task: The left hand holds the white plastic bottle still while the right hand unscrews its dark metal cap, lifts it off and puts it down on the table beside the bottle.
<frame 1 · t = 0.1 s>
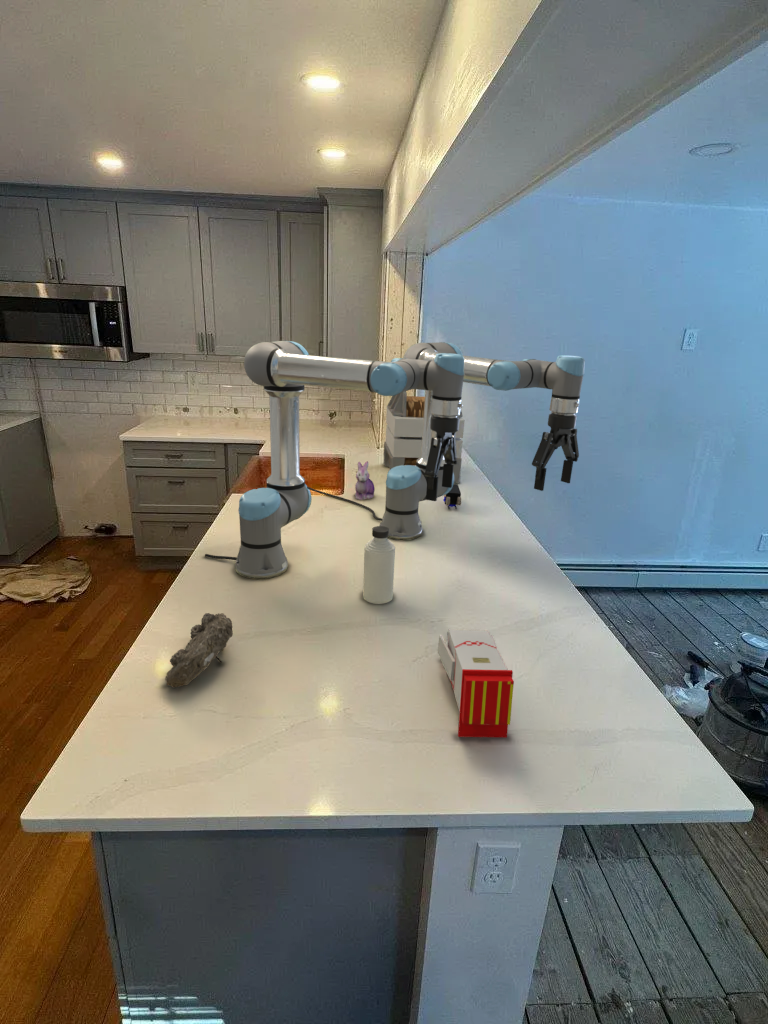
left hand: (439, 493, 154), 28 cm above the counter, tool pointing down, fingers open, 13 cm apart
right hand: (552, 485, 166), 28 cm above the counter, tool pointing down, fingers open, 13 cm apart
figurine: (364, 497, 237), on the counter
bottle: (377, 596, 156), on the counter
fossil: (205, 661, 125), on the counter
cap: (380, 530, 149), point 20 cm above the counter, screwed on, not yet turned
figurine character: (451, 505, 231), on the counter
toy: (469, 691, 119), on the counter
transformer: (419, 473, 275), on the counter
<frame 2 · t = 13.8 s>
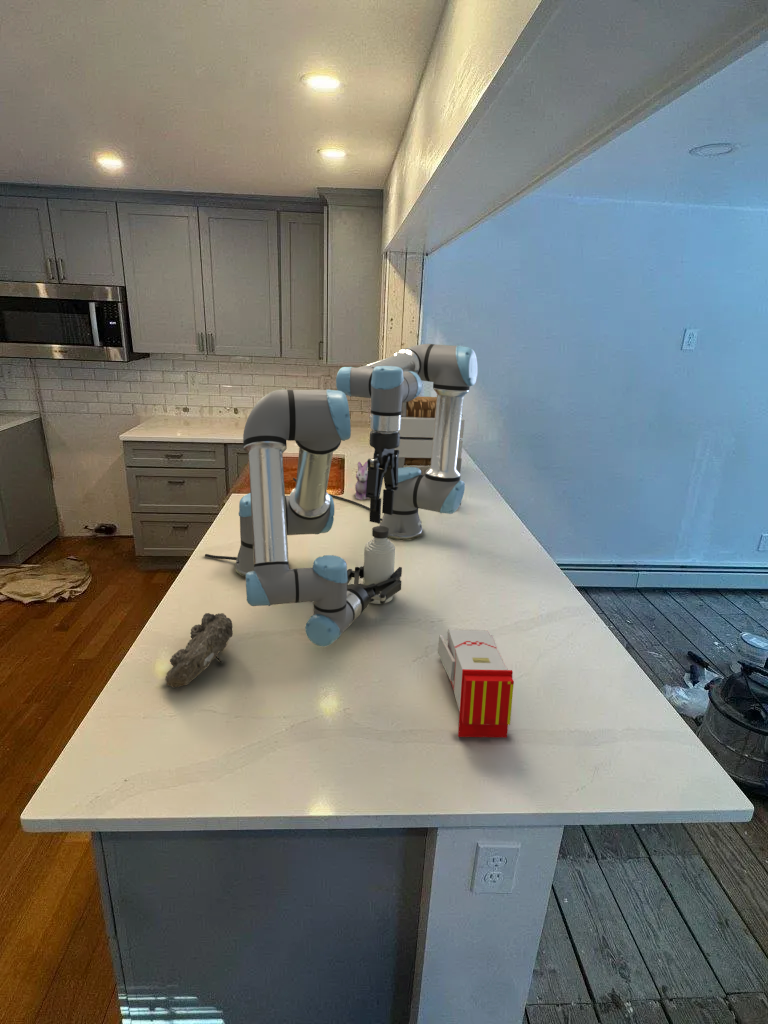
left hand: (385, 568, 158), 7 cm above the counter, tool horizontal, fingers closed on bottle, 8 cm apart
right hand: (381, 517, 148), 23 cm above the counter, tool pointing down, fingers open, 7 cm apart
bottle: (377, 596, 156), on the counter, touching left hand
everything else where it was.
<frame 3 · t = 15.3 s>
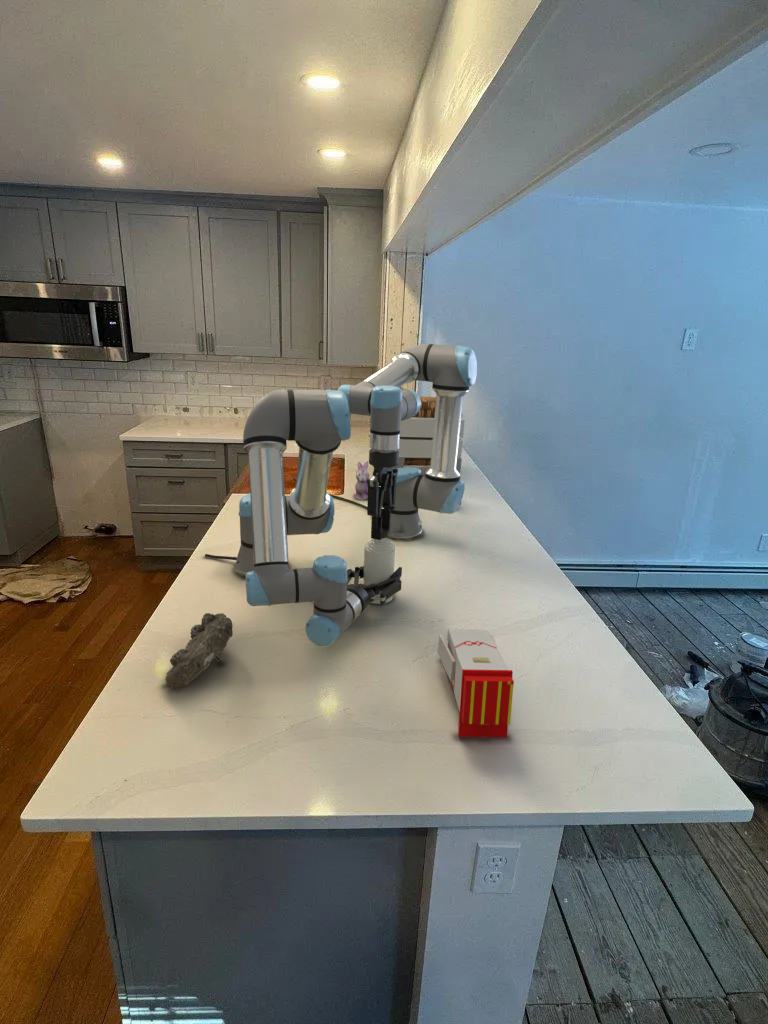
left hand: (385, 568, 158), 7 cm above the counter, tool horizontal, fingers closed on bottle, 8 cm apart
right hand: (380, 535, 150), 18 cm above the counter, tool pointing down, fingers closed on cap, 4 cm apart
bottle: (377, 596, 156), on the counter, touching left hand
cap: (380, 530, 149), point 20 cm above the counter, screwed on, not yet turned, touching right hand
everything else where it was.
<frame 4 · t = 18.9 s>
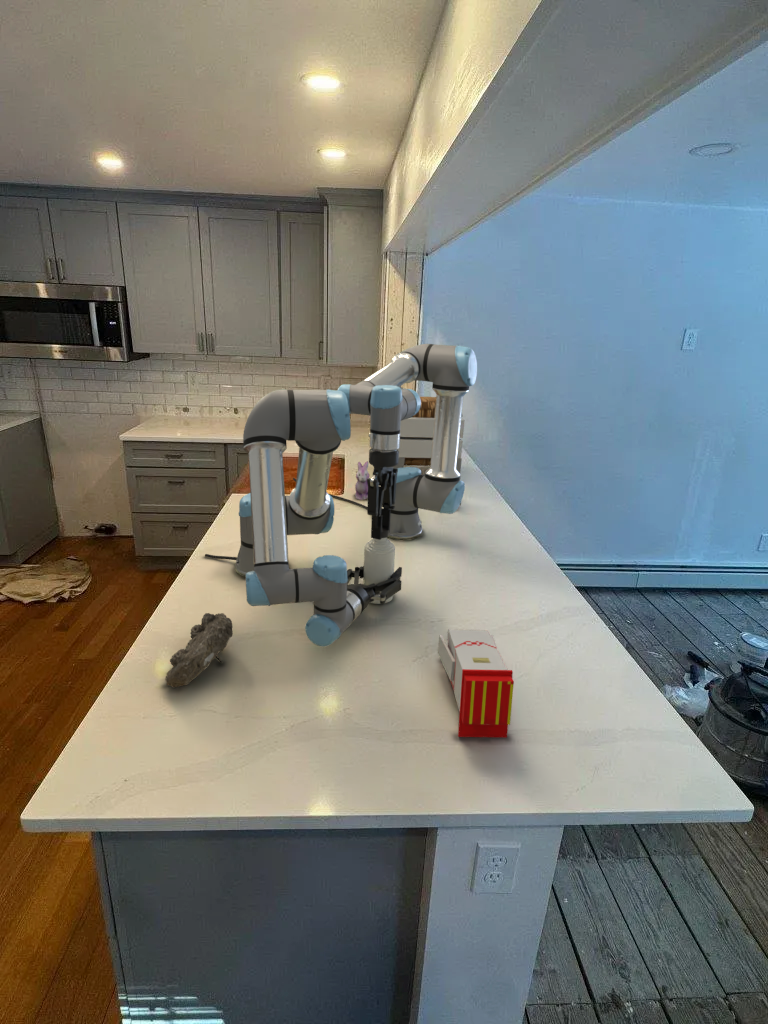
left hand: (385, 568, 158), 7 cm above the counter, tool horizontal, fingers closed on bottle, 8 cm apart
right hand: (380, 535, 150), 18 cm above the counter, tool pointing down, fingers closed on cap, 4 cm apart
bottle: (377, 596, 156), on the counter, touching left hand
cap: (380, 529, 149), point 20 cm above the counter, turned 124° so far, risen 0.1 cm, still on its thread, touching right hand
everything else where it was.
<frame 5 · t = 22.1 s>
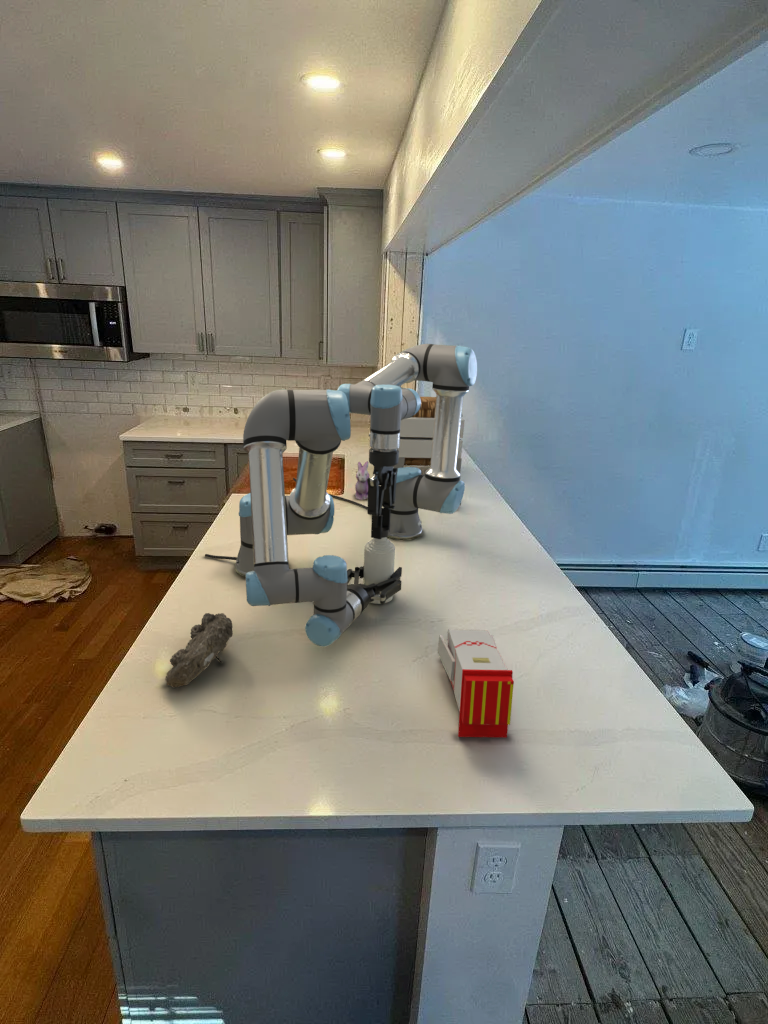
left hand: (385, 568, 158), 7 cm above the counter, tool horizontal, fingers closed on bottle, 8 cm apart
right hand: (380, 534, 150), 18 cm above the counter, tool pointing down, fingers closed on cap, 4 cm apart
bottle: (377, 596, 156), on the counter, touching left hand
cap: (380, 529, 149), point 20 cm above the counter, turned 248° so far, risen 0.2 cm, still on its thread, touching right hand
everything else where it was.
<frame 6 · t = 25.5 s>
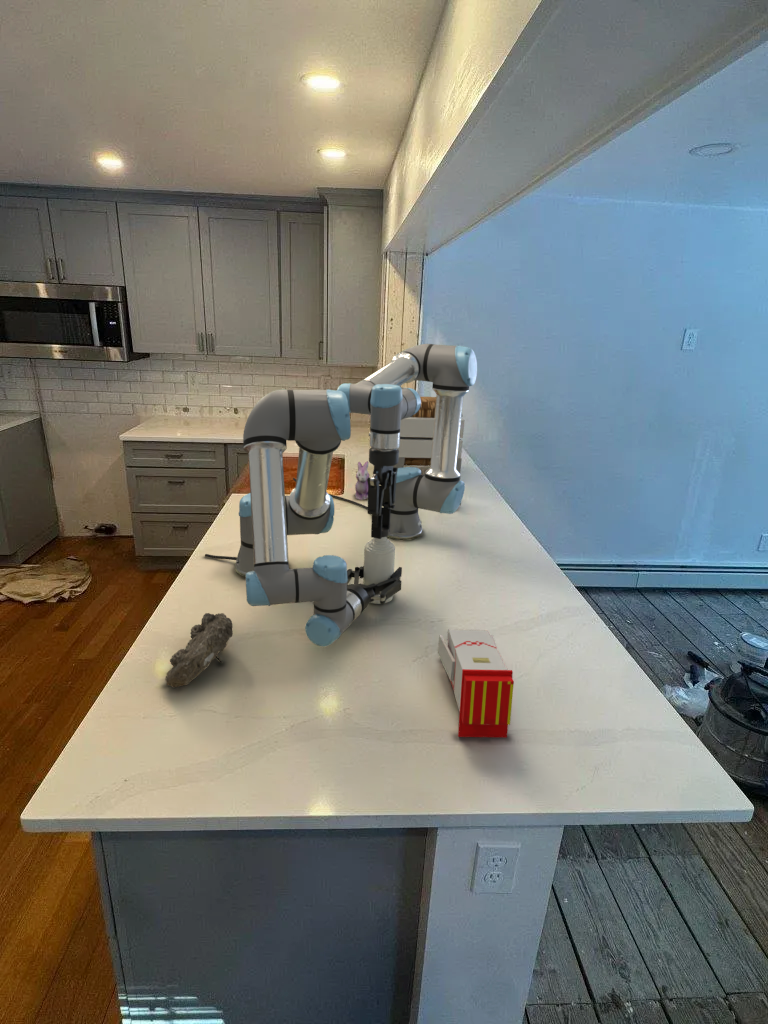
left hand: (385, 568, 158), 7 cm above the counter, tool horizontal, fingers closed on bottle, 8 cm apart
right hand: (380, 534, 150), 19 cm above the counter, tool pointing down, fingers closed on cap, 4 cm apart
bottle: (377, 596, 156), on the counter, touching left hand
cap: (380, 528, 149), point 20 cm above the counter, turned 373° so far, risen 0.3 cm, still on its thread, touching right hand
everything else where it was.
when the right hand's fingers open (1 cm above the counter, at t = 32.6 s): cap drops 1 cm, point 1 cm above the counter.
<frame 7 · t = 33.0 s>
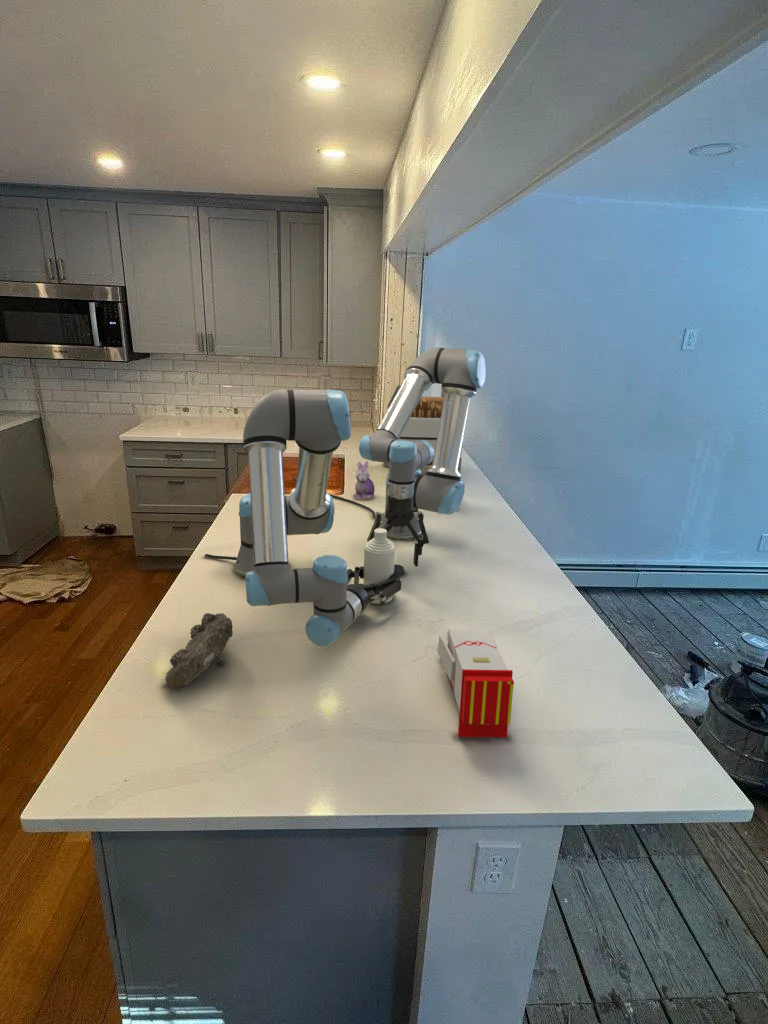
left hand: (385, 568, 158), 7 cm above the counter, tool horizontal, fingers closed on bottle, 8 cm apart
right hand: (396, 565, 169), 3 cm above the counter, tool pointing down, fingers open, 11 cm apart
bottle: (377, 596, 156), on the counter, touching left hand
cap: (396, 568, 170), point 1 cm above the counter, off its thread
everything else where it was.
when the left hand's fingers open (7 cm above the counter, at t = 33.9 s): bottle stays where it is, on the counter.
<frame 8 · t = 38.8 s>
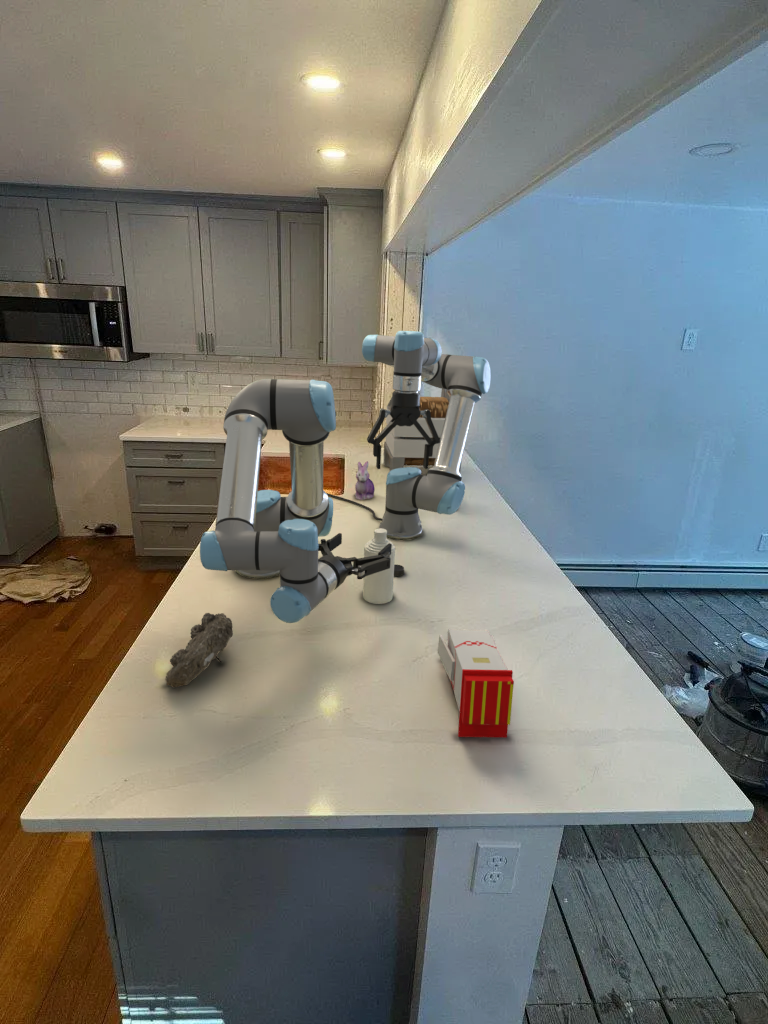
left hand: (364, 543, 141), 20 cm above the counter, tool horizontal, fingers open, 13 cm apart
right hand: (402, 467, 159), 33 cm above the counter, tool pointing down, fingers open, 13 cm apart
bottle: (377, 596, 156), on the counter
everything else where it was.
at the end: cap came off its thread; cap point 1.5 cm above the counter; the left hand is holding nothing; the right hand is holding nothing; bottle tilted 0°; bottle moved 0.0 cm from its start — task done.
